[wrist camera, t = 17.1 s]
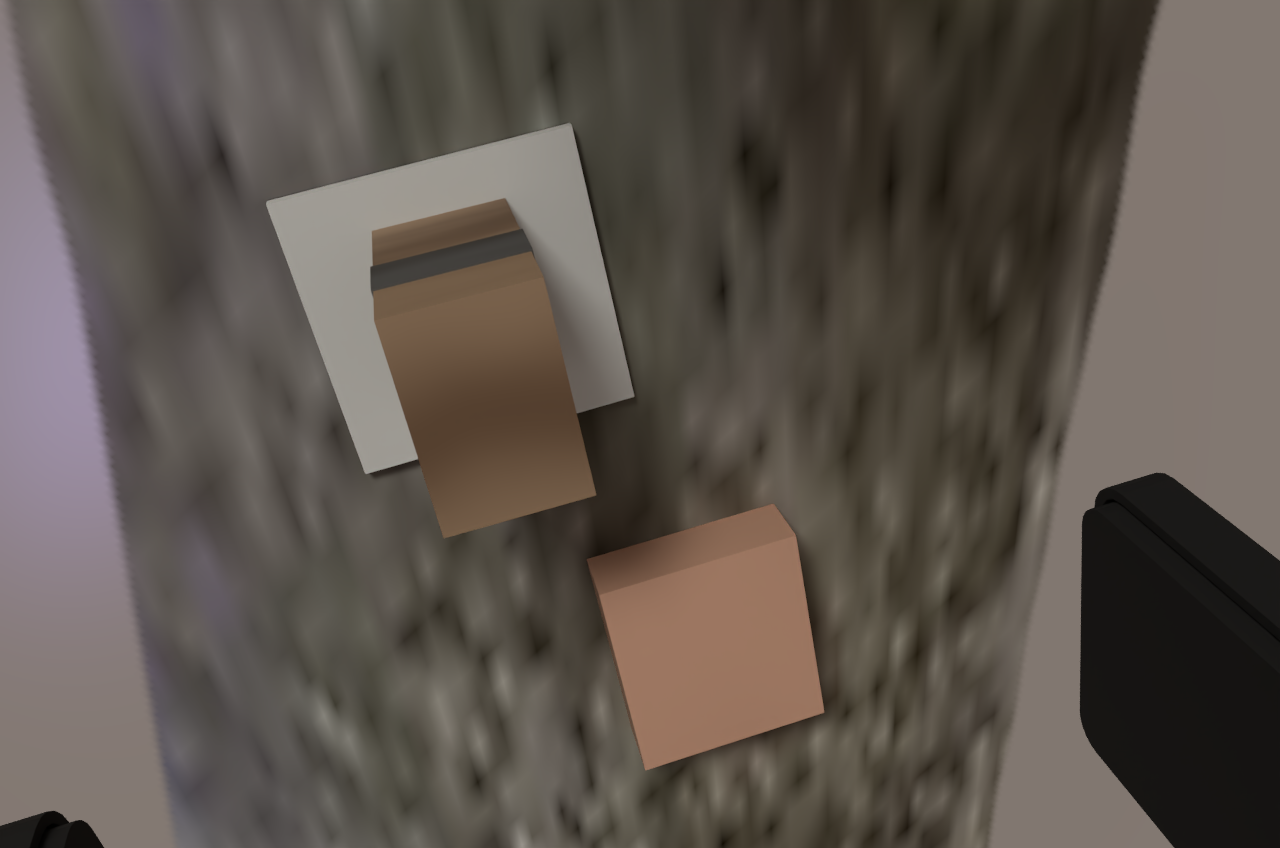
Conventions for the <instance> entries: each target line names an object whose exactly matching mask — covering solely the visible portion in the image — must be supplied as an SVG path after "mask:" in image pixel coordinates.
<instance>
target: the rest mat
mask: <svg viewBox="0 0 1280 848" xmlns="http://www.w3.org/2000/svg"><path fill="white" fill-rule="evenodd" d="M503 198H505V199H506V201H507V203H508V205H509V207H510V209H511V211H512V213H513V215H514V217H515V219H516V221H517V223H518V225H519V227H520V229H523V230H524V232H525V235H526V237H527V239H528V241H529V243H530V245H531V247H532V249H533V252H534V257H535V260H536V262H537V264H538V266H539V268H540V270H541V272H542V274H543V276H544V280H545V284H546V288H547V292H548V297H549V301H550V305H551V309H552V313H553V317H554V321H555V326H556V330H557V334H558V338H559V342H560V346H561V350H562V355H563V359H564V363H565V367H566V371H567V375H568V379H569V384H570V388H571V392H572V396H573V400H574V404H575V408H576V413H580V412H583V411H587V410H590V409H594V408H597V407H601V406H604V405H608V404H611V403H615V402H618V401H622V400H625V399H629V398H632V397H635V396H634V392H633V388H632V384H631V379H630V375H629V371H628V366H627V362H626V358H625V353H624V349H623V345H622V340H621V336H620V332H619V327H618V323H617V319H616V314H615V310H614V306H613V301H612V297H611V293H610V288H609V284H608V280H607V275H606V271H605V267H604V262H603V258H602V254H601V250H600V245H599V241H598V237H597V232H596V228H595V224H594V219H593V215H592V211H591V206H590V202H589V198H588V193H587V189H586V185H585V180H584V176H583V172H582V167H581V163H580V159H579V154H578V150H577V146H576V141H575V137H574V133H573V128H572V125H571V124H570V123H567V124H563V125H559V126H556V127H552V128H548V129H544V130H540V131H536V132H532V133H529V134H525V135H521V136H517V137H513V138H509V139H505V140H501V141H498V142H494V143H490V144H486V145H482V146H478V147H474V148H470V149H467V150H463V151H459V152H455V153H451V154H447V155H443V156H439V157H436V158H432V159H428V160H424V161H420V162H416V163H412V164H408V165H405V166H401V167H397V168H393V169H389V170H385V171H381V172H377V173H374V174H370V175H366V176H362V177H358V178H354V179H350V180H346V181H343V182H339V183H335V184H331V185H327V186H323V187H319V188H316V189H312V190H308V191H304V192H300V193H296V194H292V195H288V196H285V197H281V198H277V199H273V200H269V201H267V203H266V206H267V208H268V211H269V214H270V217H271V219H272V222H273V225H274V227H275V230H276V233H277V236H278V238H279V241H280V244H281V246H282V249H283V252H284V254H285V257H286V260H287V263H288V265H289V268H290V271H291V273H292V276H293V279H294V282H295V284H296V287H297V290H298V292H299V295H300V298H301V301H302V303H303V306H304V309H305V311H306V314H307V317H308V320H309V322H310V325H311V328H312V330H313V333H314V336H315V339H316V341H317V344H318V347H319V349H320V352H321V355H322V358H323V360H324V363H325V366H326V368H327V371H328V374H329V377H330V379H331V382H332V385H333V387H334V390H335V393H336V396H337V398H338V401H339V404H340V406H341V409H342V412H343V415H344V417H345V420H346V423H347V425H348V428H349V431H350V434H351V436H352V439H353V442H354V444H355V447H356V450H357V453H358V455H359V458H360V461H361V463H362V466H363V469H364V472H365V474H368V473H372V472H375V471H379V470H382V469H385V468H389V467H392V466H396V465H399V464H403V463H406V462H410V461H413V460H417V459H418V456H417V453H416V450H415V447H414V444H413V441H412V438H411V435H410V431H409V428H408V425H407V422H406V419H405V416H404V413H403V410H402V407H401V403H400V400H399V397H398V394H397V391H396V388H395V385H394V382H393V378H392V375H391V372H390V369H389V366H388V363H387V360H386V357H385V354H384V350H383V347H382V344H381V341H380V338H379V335H378V332H377V329H376V325H375V322H374V303H373V296H372V293H371V284H370V267H371V266H373V262H372V231H373V230H377V229H381V228H385V227H389V226H393V225H397V224H401V223H406V222H410V221H414V220H418V219H422V218H426V217H430V216H434V215H438V214H442V213H446V212H450V211H454V210H458V209H462V208H466V207H470V206H474V205H478V204H482V203H486V202H490V201H495V200H499V199H503Z"/></svg>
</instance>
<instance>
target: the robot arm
mask: <svg viewBox="0 0 1280 848" xmlns="http://www.w3.org/2000/svg"><path fill="white" fill-rule="evenodd" d="M1080 663H1081V664H1080V665H1081V667H1080V717H1081V722H1082V725H1083V729H1084V731H1085V734H1086V736H1087V738H1088V740H1089V742H1090V744H1091V745H1092V747H1093V748H1094V750H1095V751H1096V753H1097V754H1098V755H1099V756H1100V757H1101V759H1102V760H1103V761H1104V762H1105V763H1106V764H1107V766H1108V767H1109V768H1110V770H1111V771H1112V772H1113V773H1114V775H1115V776H1116V777H1117V778H1118V779H1119V781H1120V782H1121V783H1122V784H1123V786H1124V787H1125V788H1126V789H1127V790H1128V792H1129V793H1130V794H1131V795H1132V796H1133V798H1134V799H1135V800H1136V801H1137V803H1138V804H1139V805H1140V806H1141V807H1142V809H1143V810H1144V811H1145V812H1146V814H1147V815H1148V816H1149V817H1150V818H1151V820H1152V821H1153V822H1154V823H1155V825H1156V826H1157V827H1158V828H1159V829H1160V831H1161V832H1162V833H1163V834H1164V836H1165V837H1166V838H1167V839H1168V840H1169V842H1170V843H1171V844H1172V845H1173V847H1174V848H1280V561H1279V560H1278V559H1277V558H1275V557H1274V556H1273V555H1272V554H1270V553H1269V552H1268V551H1267V550H1265V549H1264V548H1263V547H1261V546H1260V545H1259V544H1257V543H1256V542H1255V541H1253V540H1252V539H1251V538H1250V537H1248V536H1247V535H1246V534H1245V533H1243V532H1242V531H1240V530H1239V529H1238V528H1237V527H1236V526H1234V525H1233V524H1232V523H1230V522H1229V521H1228V520H1226V519H1225V518H1224V517H1223V516H1221V515H1220V514H1219V513H1217V512H1216V511H1215V510H1213V509H1212V508H1211V507H1210V506H1209V505H1207V504H1206V503H1205V502H1203V501H1202V500H1201V499H1199V498H1198V497H1197V496H1195V495H1194V494H1193V493H1192V492H1190V491H1189V490H1188V489H1187V488H1185V487H1184V486H1183V485H1181V484H1180V483H1179V482H1178V481H1176V480H1175V479H1174V478H1172V477H1170V476H1168V475H1166V474H1165V473H1154V474H1150V475H1147V476H1144V477H1141V478H1137V479H1134V480H1131V481H1127V482H1124V483H1121V484H1118V485H1114V486H1111V487H1108V488H1105V489H1103V490H1101V491H1100V492H1099V493H1098V495H1097V497H1096V500H1095V507H1094V508H1092V509H1090V510H1087V511H1086V512H1085V514H1084V516H1083V521H1082V579H1081V662H1080ZM0 848H104V847H103V845H102V844H101V842H100V841H99V839H98V837H97V836H96V834H95V833H94V831H93V830H92V828H91V827H90V826H89V825H88V824H87V823H86V822H84V821H82V820H78V821H74V822H70V823H69V822H68V821H67V820H66V818H65V817H64V816H63V815H62V814H60V813H58V812H56V811H49V812H44V813H41V814H38V815H35V816H31V817H28V818H25V819H22V820H18V821H15V822H12V823H9V824H5V825H2V826H0Z"/></svg>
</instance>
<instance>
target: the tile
mask: <svg viewBox="0 0 1280 848" xmlns="http://www.w3.org/2000/svg"><path fill="white" fill-rule="evenodd" d="M587 563H588V567H589V570H590V574H591V578H592V582H593V585H594V589H595V593H596V597H597V600H598V604H599V608H600V612H601V615H602V619H603V623H604V627H605V630H606V634H607V638H608V642H609V646H610V649H611V653H612V657H613V661H614V664H615V668H616V672H617V676H618V679H619V683H620V687H621V691H622V694H623V698H624V702H625V706H626V710H627V713H628V717H629V721H630V725H631V728H632V731H633V734H634V737H635V740H636V743H637V746H638V750H639V753H640V756H641V759H642V762H643V765H644V768H645V770H648V769H652V768H655V767H658V766H661V765H664V764H667V763H670V762H673V761H676V760H679V759H682V758H686V757H689V756H692V755H695V754H698V753H701V752H704V751H707V750H710V749H713V748H716V747H720V746H723V745H726V744H729V743H732V742H735V741H738V740H741V739H744V738H747V737H750V736H754V735H757V734H760V733H763V732H766V731H769V730H772V729H775V728H778V727H781V726H784V725H788V724H791V723H794V722H797V721H800V720H803V719H806V718H809V717H812V716H815V715H819V714H822V713H824V707H823V701H822V694H821V688H820V682H819V676H818V669H817V663H816V657H815V651H814V645H813V638H812V632H811V626H810V620H809V613H808V607H807V601H806V595H805V588H804V582H803V576H802V570H801V564H800V557H799V551H798V545H797V539H796V535H795V533H794V532H793V530H792V529H791V528H790V526H789V525H788V523H787V522H786V520H785V519H784V518H783V516H782V515H781V513H780V512H779V510H778V509H777V508H776V506H775V505H774V504H771V505H767V506H764V507H761V508H757V509H754V510H751V511H747V512H744V513H740V514H737V515H734V516H730V517H727V518H724V519H720V520H717V521H713V522H710V523H707V524H703V525H700V526H697V527H693V528H690V529H687V530H683V531H680V532H676V533H673V534H670V535H666V536H663V537H660V538H656V539H653V540H650V541H646V542H643V543H639V544H636V545H633V546H629V547H626V548H623V549H619V550H616V551H612V552H609V553H606V554H602V555H599V556H596V557H592V558H589V559H587Z"/></svg>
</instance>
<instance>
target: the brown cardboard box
mask: <svg viewBox="0 0 1280 848" xmlns="http://www.w3.org/2000/svg"><path fill="white" fill-rule="evenodd" d="M372 262H373V266H371V267H370V284H371V293H372V296H373V303H374V322H375V325H376V329H377V332H378V335H379V338H380V341H381V344H382V347H383V350H384V354H385V357H386V360H387V363H388V366H389V369H390V372H391V375H392V378H393V382H394V385H395V388H396V391H397V394H398V397H399V400H400V403H401V407H402V410H403V413H404V416H405V419H406V422H407V425H408V428H409V431H410V435H411V438H412V441H413V444H414V447H415V450H416V453H417V456H418V459H419V463H420V466H421V469H422V472H423V475H424V478H425V481H426V484H427V488H428V491H429V494H430V497H431V500H432V503H433V506H434V509H435V512H436V516H437V519H438V522H439V525H440V528H441V531H442V534H443V537H444V538H447V537H451V536H454V535H458V534H461V533H465V532H468V531H472V530H476V529H479V528H483V527H486V526H490V525H493V524H497V523H500V522H504V521H507V520H511V519H515V518H518V517H522V516H525V515H529V514H532V513H536V512H539V511H543V510H547V509H550V508H554V507H557V506H561V505H564V504H568V503H571V502H575V501H578V500H582V499H586V498H589V497H593V496H596V491H595V487H594V483H593V479H592V475H591V471H590V467H589V462H588V458H587V454H586V450H585V446H584V442H583V438H582V433H581V429H580V425H579V421H578V417H577V413H576V408H575V404H574V400H573V396H572V392H571V388H570V384H569V379H568V375H567V371H566V367H565V363H564V359H563V355H562V350H561V346H560V342H559V338H558V334H557V330H556V326H555V321H554V317H553V313H552V309H551V305H550V301H549V297H548V292H547V288H546V284H545V280H544V276H543V274H542V272H541V270H540V268H539V266H538V264H537V262H536V260H535V257H534V252H533V249H532V247H531V245H530V243H529V241H528V239H527V237H526V235H525V232H524V230H523V229H520V227H519V225H518V223H517V221H516V219H515V217H514V215H513V213H512V211H511V209H510V207H509V205H508V203H507V201H506V199H505V198H503V199H499V200H495V201H490V202H486V203H482V204H478V205H474V206H470V207H466V208H462V209H458V210H454V211H450V212H446V213H442V214H438V215H434V216H430V217H426V218H422V219H418V220H414V221H410V222H406V223H401V224H397V225H393V226H389V227H385V228H381V229H377V230H373V231H372Z"/></svg>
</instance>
